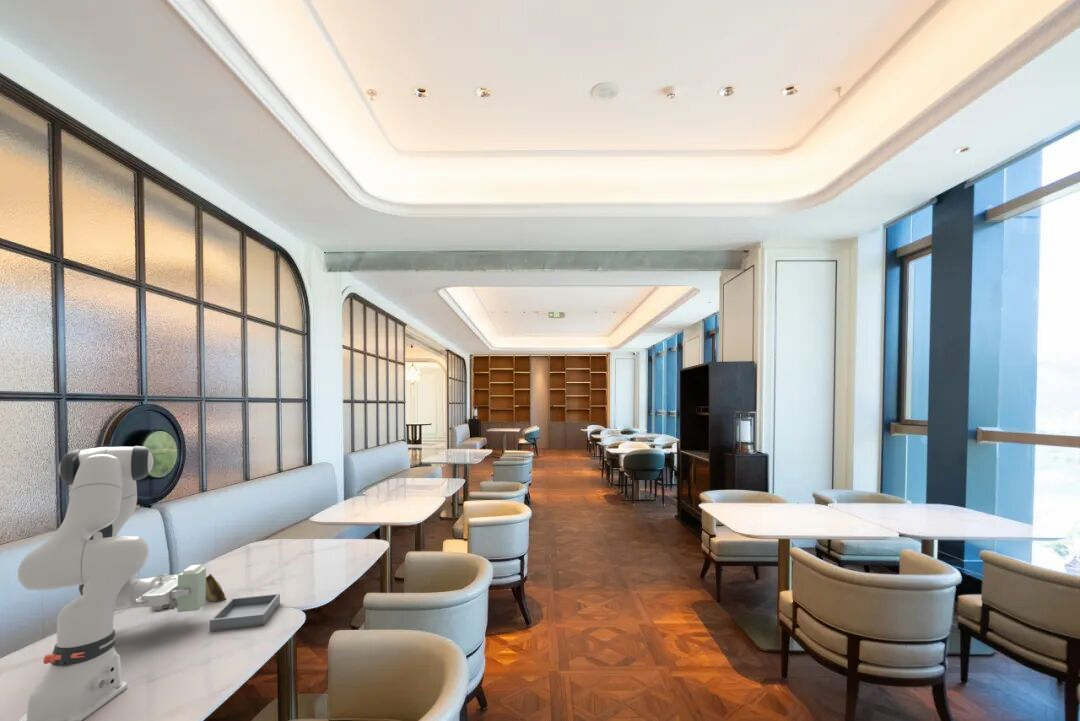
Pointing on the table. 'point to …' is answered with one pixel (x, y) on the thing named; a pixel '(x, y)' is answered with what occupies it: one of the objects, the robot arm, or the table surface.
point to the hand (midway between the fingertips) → (194, 587)
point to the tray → (245, 612)
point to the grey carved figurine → (167, 604)
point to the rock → (213, 589)
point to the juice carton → (192, 588)
